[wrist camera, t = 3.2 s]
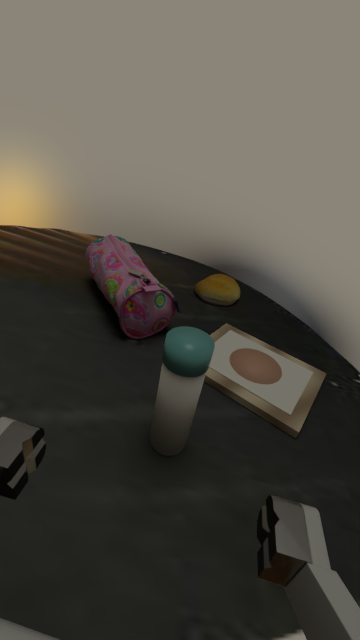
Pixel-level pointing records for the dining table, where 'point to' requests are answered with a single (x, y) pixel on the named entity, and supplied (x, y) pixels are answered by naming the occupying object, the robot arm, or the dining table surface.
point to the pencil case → (130, 287)
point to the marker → (179, 387)
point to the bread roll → (218, 290)
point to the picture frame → (263, 378)
